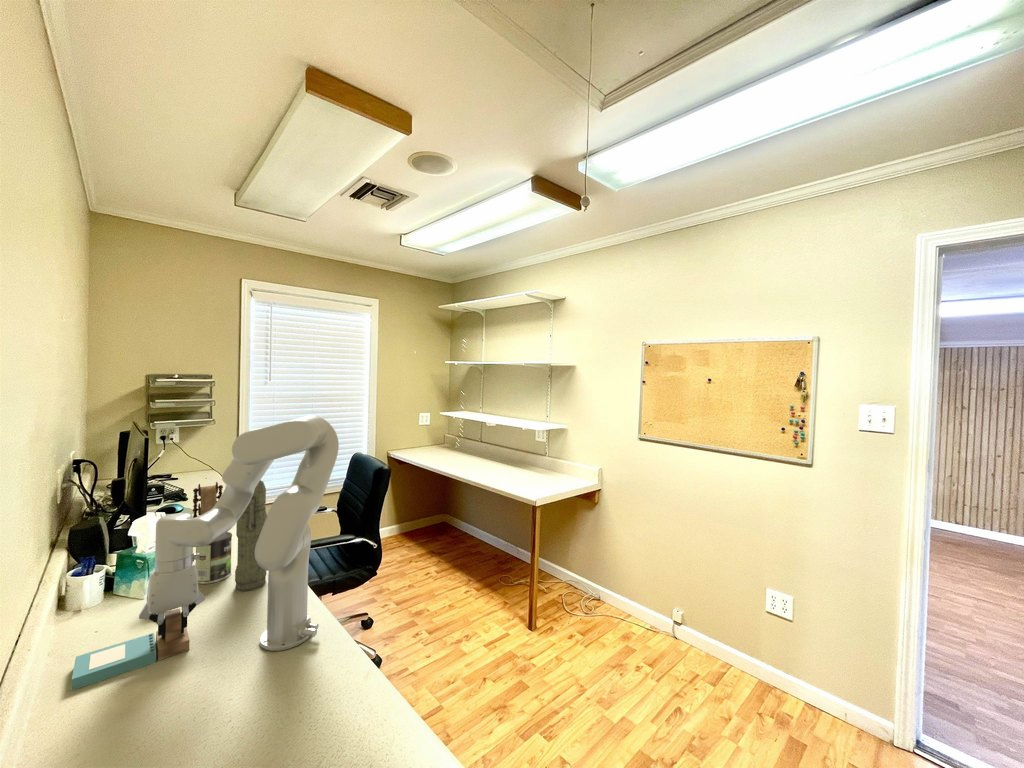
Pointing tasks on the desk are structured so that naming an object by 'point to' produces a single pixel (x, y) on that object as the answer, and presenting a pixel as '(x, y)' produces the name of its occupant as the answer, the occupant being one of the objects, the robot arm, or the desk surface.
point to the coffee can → (214, 560)
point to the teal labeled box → (113, 660)
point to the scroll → (206, 498)
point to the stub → (172, 636)
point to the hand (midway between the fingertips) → (172, 633)
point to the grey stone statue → (250, 542)
